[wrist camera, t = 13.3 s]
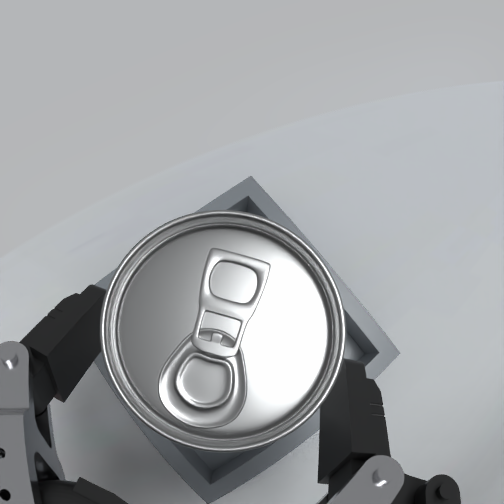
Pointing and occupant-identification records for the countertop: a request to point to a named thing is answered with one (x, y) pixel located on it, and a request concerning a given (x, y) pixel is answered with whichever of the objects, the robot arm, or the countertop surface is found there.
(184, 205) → the countertop surface
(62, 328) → the robot arm
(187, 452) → the tray
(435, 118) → the countertop surface
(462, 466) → the countertop surface
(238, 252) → the can
